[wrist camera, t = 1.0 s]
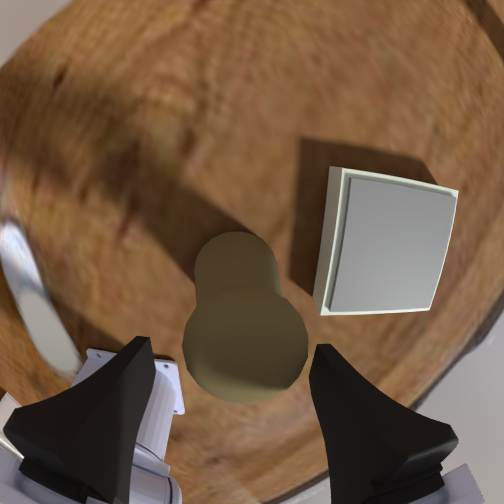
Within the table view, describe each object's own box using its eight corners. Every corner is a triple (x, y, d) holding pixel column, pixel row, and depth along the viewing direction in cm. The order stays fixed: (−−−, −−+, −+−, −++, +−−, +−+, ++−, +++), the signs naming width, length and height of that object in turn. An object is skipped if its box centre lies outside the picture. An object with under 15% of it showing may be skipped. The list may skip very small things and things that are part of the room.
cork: (183, 242, 19) (140, 320, 8) (268, 221, 19) (320, 278, 9) (206, 317, 21) (197, 431, 10) (284, 299, 21) (332, 402, 10)
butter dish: (60, 461, 35) (42, 511, 21) (-3, 411, 30) (-30, 458, 16) (85, 452, 32) (63, 518, 17) (5, 388, 27) (-34, 450, 12)
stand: (312, 297, 21) (321, 318, 18) (329, 166, 18) (344, 168, 15) (414, 295, 22) (431, 312, 19) (438, 185, 18) (461, 191, 16)
